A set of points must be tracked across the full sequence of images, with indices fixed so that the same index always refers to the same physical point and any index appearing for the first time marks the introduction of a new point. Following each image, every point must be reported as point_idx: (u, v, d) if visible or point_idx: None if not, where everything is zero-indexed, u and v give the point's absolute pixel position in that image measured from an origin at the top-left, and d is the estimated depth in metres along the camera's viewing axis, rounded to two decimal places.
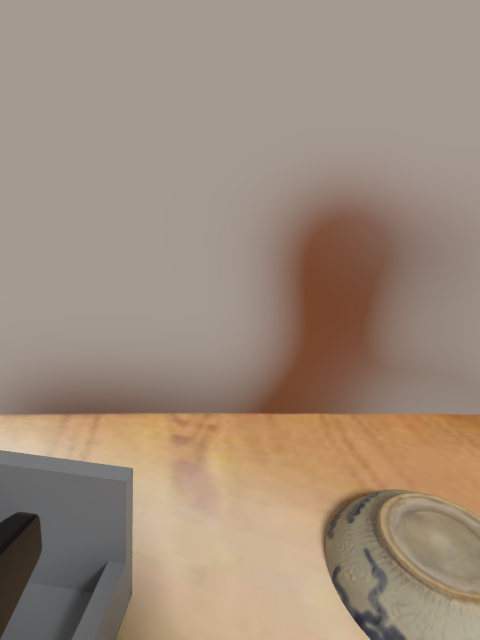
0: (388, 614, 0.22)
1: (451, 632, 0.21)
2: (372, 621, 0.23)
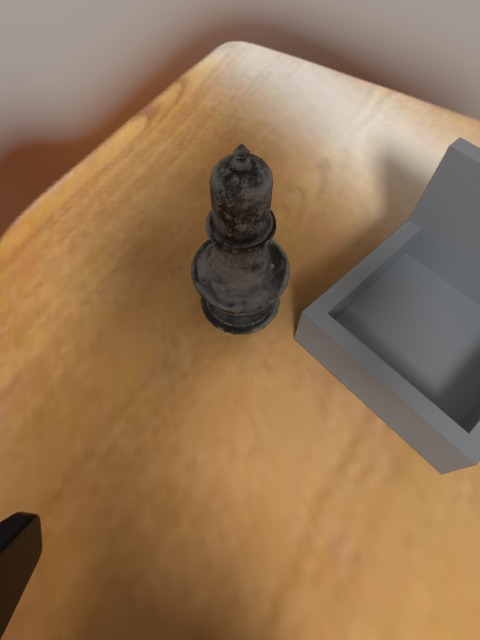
0: None
1: None
2: None
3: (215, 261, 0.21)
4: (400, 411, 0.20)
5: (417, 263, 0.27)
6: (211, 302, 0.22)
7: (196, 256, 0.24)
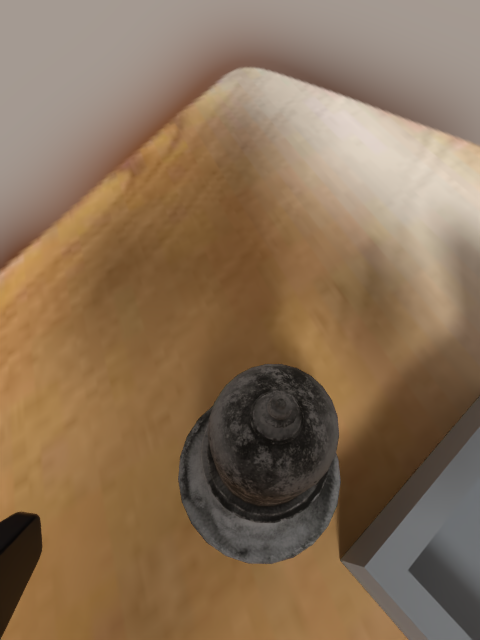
0: None
1: None
2: None
3: None
4: None
5: None
6: (210, 543, 0.13)
7: (187, 445, 0.15)
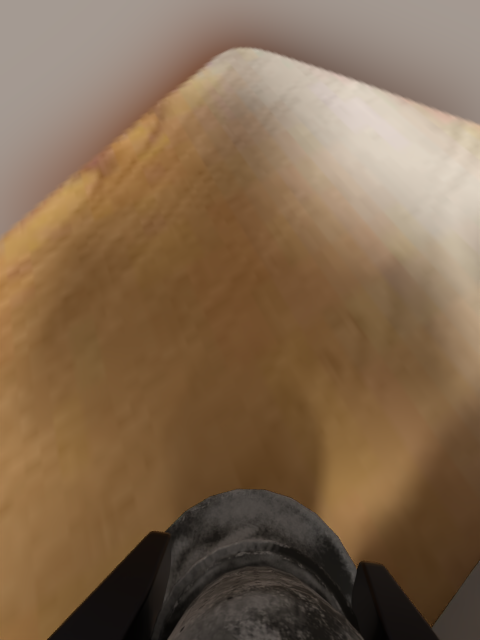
0: None
1: None
2: None
3: None
4: None
5: None
6: None
7: None
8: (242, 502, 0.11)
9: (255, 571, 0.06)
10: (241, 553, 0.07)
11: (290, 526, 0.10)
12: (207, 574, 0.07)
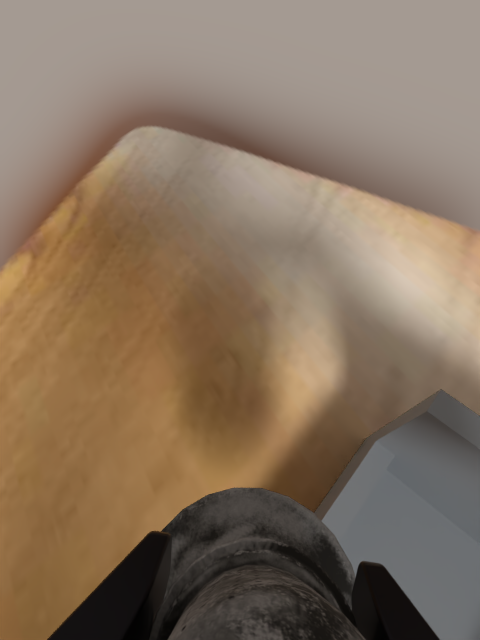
0: None
1: None
2: None
3: None
4: None
5: (393, 479, 0.20)
6: None
7: None
8: (239, 501, 0.11)
9: (254, 570, 0.06)
10: (240, 551, 0.07)
11: (287, 524, 0.10)
12: (206, 573, 0.07)
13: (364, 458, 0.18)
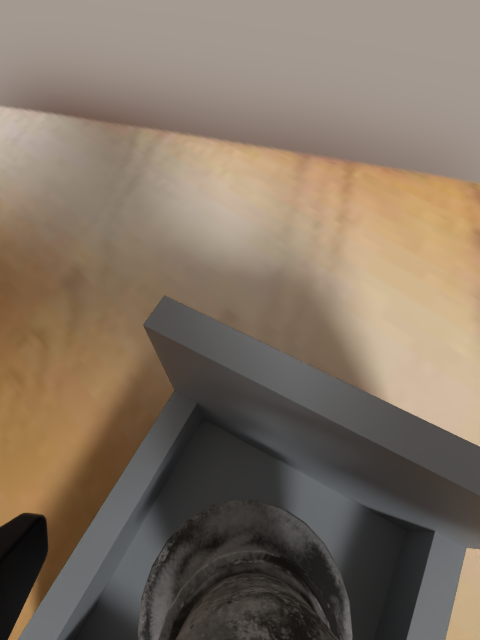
0: None
1: None
2: None
3: None
4: None
5: (221, 433, 0.17)
6: None
7: (152, 580, 0.11)
8: (239, 512, 0.12)
9: (250, 578, 0.07)
10: (238, 561, 0.08)
11: (282, 534, 0.11)
12: (209, 579, 0.08)
13: (160, 414, 0.15)
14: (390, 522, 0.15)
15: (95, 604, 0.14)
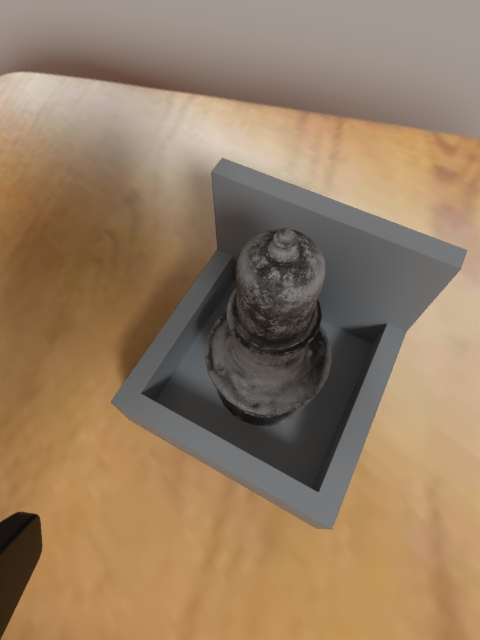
0: None
1: None
2: None
3: (237, 351, 0.16)
4: (248, 484, 0.18)
5: None
6: (230, 400, 0.17)
7: (211, 333, 0.18)
8: None
9: None
10: None
11: None
12: None
13: (208, 262, 0.22)
14: (362, 339, 0.22)
15: (167, 381, 0.21)
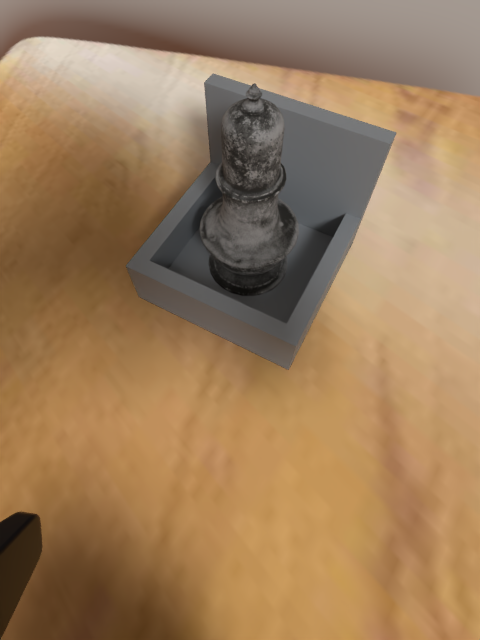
0: None
1: None
2: None
3: (224, 216, 0.21)
4: (233, 326, 0.23)
5: None
6: (219, 258, 0.22)
7: (205, 214, 0.23)
8: None
9: None
10: None
11: None
12: None
13: (203, 171, 0.27)
14: (329, 235, 0.27)
15: (170, 264, 0.26)
